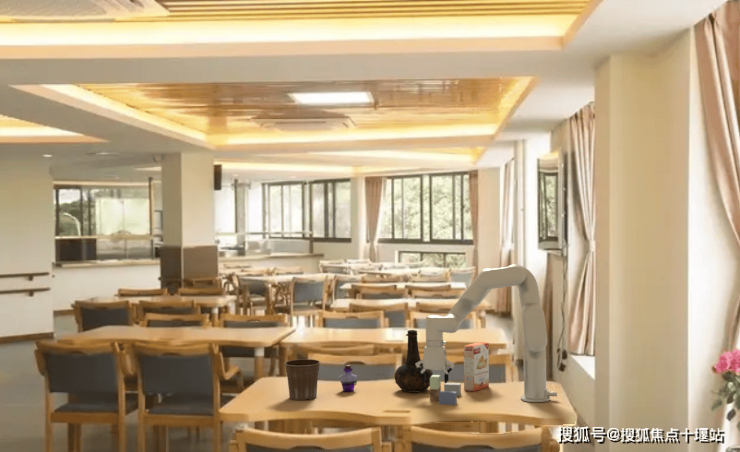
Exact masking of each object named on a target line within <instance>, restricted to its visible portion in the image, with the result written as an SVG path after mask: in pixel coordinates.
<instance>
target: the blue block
mask: <svg viewBox="0 0 740 452" xmlns="http://www.w3.org/2000/svg"><path fill="white" fill-rule="evenodd" d="M457 397H458V396H457V392H452V391H444V390H441V391H440V392H439V400H438V404H439V405H449V406H450V405H451V406H453V405H454V406H456V405H457V404H458V400H457V399H458V398H457Z"/></svg>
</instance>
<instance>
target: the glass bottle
mask: <svg viewBox="0 0 740 452" xmlns="http://www.w3.org/2000/svg"><path fill="white" fill-rule="evenodd" d="M405 336H407V354H406V361H405V363H404V364H402V365H400V366H398V367H397V369H396V370H395V372H394V381H395V383H396V385H397V386H398V387H399V389H401V390H402V391H403V392H406V393H421V392H424V391H426V390H428V389H430V377H431V376H432V375H434V374H433V370H428V369H426V371H425V373H426V382H424V383H423V380H422V373H421V372H420V371H419V370H418V368H417V366H416V365H415V363H417V362H419V361H421V360H422V359H421V356H420V351H419V344H418V330H415V329H409V330H407V334H405ZM420 367H421V368H422V369H423V363H421V364H420Z"/></svg>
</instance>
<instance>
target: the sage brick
mask: <svg viewBox="0 0 740 452" xmlns="http://www.w3.org/2000/svg"><path fill="white" fill-rule="evenodd" d="M441 378H442V377H441V374H433V375H432V376H431V377H430V386H429V390H430V389H439V388H440V386H441V385H442V384H441V383H442V381H441ZM441 387H442V386H441Z"/></svg>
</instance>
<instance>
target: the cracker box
mask: <svg viewBox="0 0 740 452" xmlns="http://www.w3.org/2000/svg"><path fill="white" fill-rule="evenodd" d="M489 346H490V343H489V342H485V341H484V342H482V341H480V342H479V341H478V342H477V341H476V342H474V343H469V344H465V345H464V346H463V390H464V391H468V392H477V391H479V390H482V389H485V388H489V387H490V385H489V384H490V382H489V381H490V377H489V376H490V369H489V367H490V364H489V363H490V362H489V361H490V360H489V357H490V347H489Z"/></svg>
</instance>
